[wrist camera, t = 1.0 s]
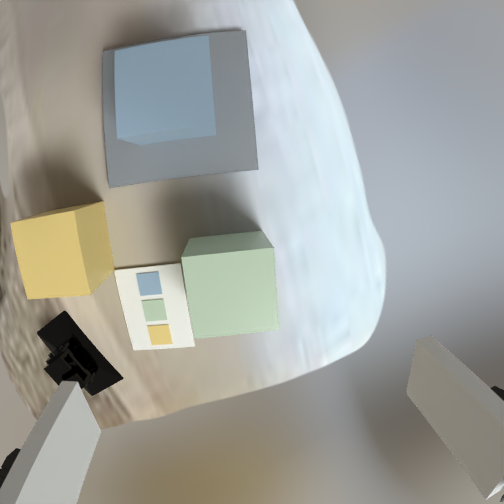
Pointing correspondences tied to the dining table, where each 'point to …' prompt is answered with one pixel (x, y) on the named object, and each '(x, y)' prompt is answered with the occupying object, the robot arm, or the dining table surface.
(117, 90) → the blue base brick
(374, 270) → the dining table surface
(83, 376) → the black mounting plate
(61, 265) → the ochre brick
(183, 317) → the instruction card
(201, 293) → the sage brick
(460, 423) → the robot arm
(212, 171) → the slate board
